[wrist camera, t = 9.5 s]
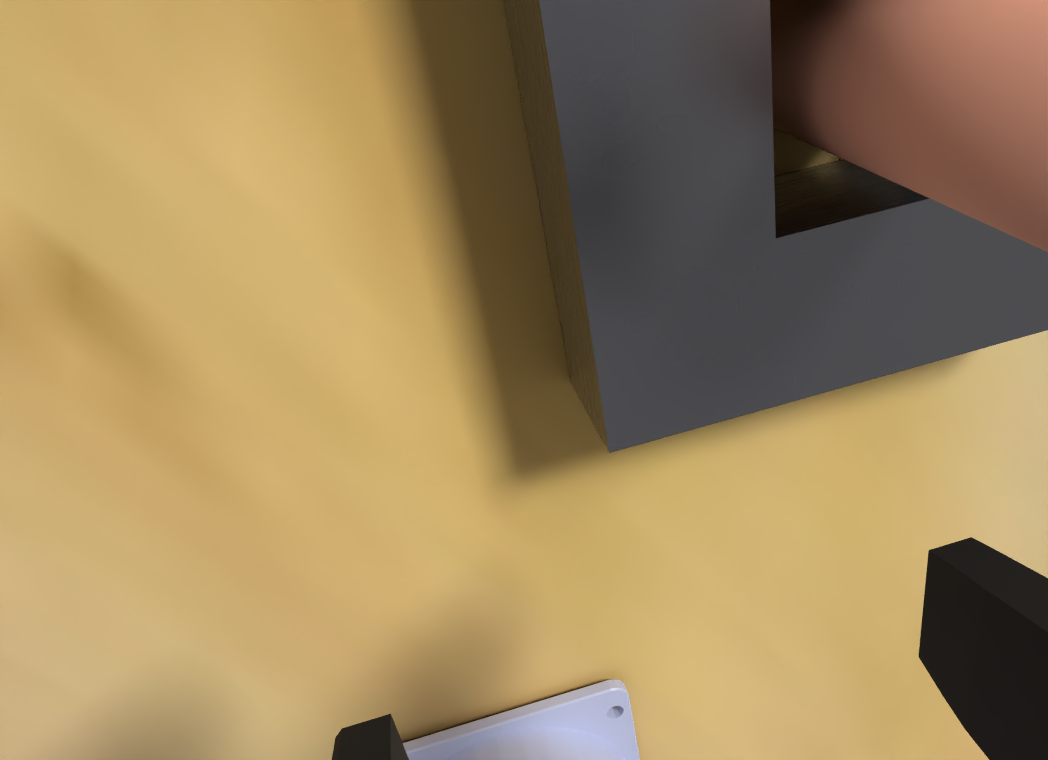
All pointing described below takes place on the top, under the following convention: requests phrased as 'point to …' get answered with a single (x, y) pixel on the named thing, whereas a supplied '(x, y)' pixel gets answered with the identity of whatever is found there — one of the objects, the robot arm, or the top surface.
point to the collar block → (730, 228)
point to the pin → (925, 98)
